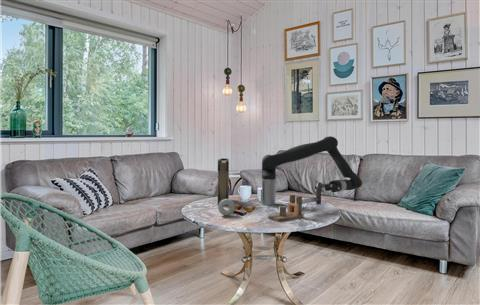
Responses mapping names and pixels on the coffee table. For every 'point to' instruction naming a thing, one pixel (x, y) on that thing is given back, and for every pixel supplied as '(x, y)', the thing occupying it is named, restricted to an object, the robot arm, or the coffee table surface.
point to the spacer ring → (296, 208)
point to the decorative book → (223, 179)
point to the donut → (223, 203)
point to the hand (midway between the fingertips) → (320, 188)
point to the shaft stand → (286, 216)
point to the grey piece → (318, 195)
